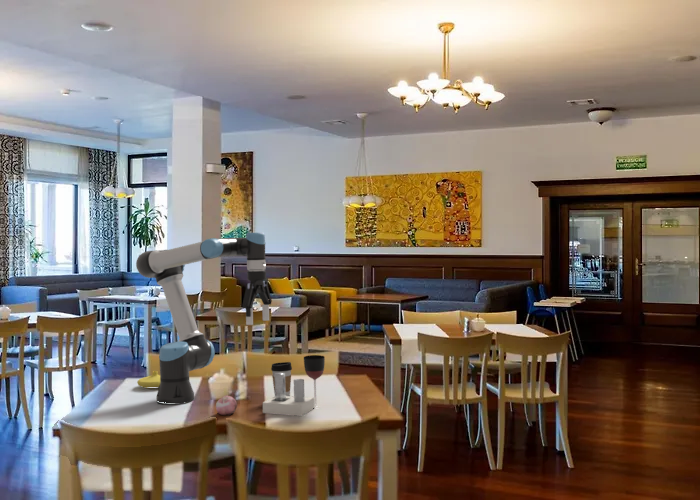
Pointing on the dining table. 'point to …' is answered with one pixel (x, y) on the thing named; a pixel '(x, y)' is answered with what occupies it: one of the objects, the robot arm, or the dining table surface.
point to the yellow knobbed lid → (150, 380)
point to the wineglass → (314, 369)
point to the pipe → (280, 387)
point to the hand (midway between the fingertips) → (258, 322)
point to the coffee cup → (283, 368)
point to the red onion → (226, 405)
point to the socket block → (291, 402)
